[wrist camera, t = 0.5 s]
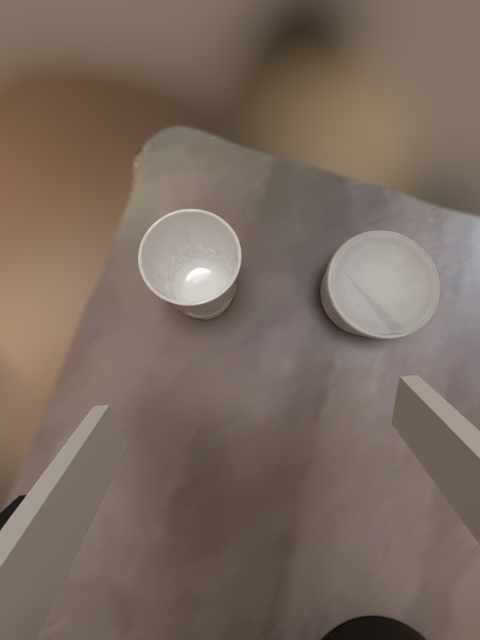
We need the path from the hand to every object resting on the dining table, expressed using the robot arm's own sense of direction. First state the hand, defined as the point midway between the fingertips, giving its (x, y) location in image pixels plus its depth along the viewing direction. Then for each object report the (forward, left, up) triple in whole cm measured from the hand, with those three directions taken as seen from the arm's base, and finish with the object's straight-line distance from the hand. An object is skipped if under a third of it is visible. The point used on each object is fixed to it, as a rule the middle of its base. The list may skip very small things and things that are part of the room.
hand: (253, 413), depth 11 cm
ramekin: (+9, -15, -16) cm, 24 cm away
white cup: (+11, +3, -16) cm, 20 cm away
